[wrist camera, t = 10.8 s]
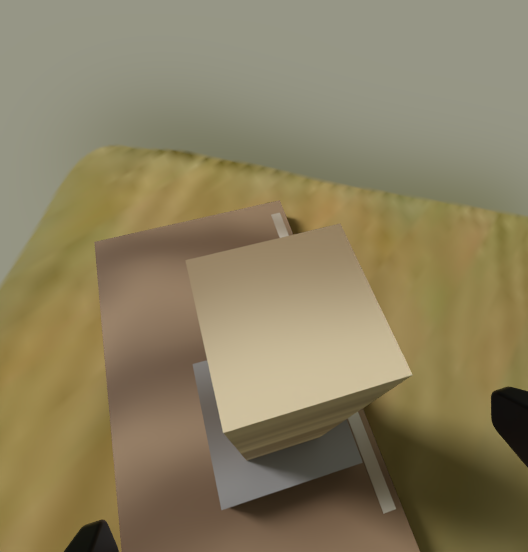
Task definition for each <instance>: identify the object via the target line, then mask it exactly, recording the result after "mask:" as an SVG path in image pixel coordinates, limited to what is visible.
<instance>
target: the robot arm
mask: <svg viewBox="0 0 528 552" xmlns="http://www.w3.org/2000/svg"><path fill="white" fill-rule="evenodd" d="M491 419H492V423H493V426H494V427H495V429H496V431H497V432H498V433H499V434H500V435H501V437H502V438H503V439H504V440H505V441H506V442H507V444H508V445H509V446H510V447H511V448H512V450H513V451H514V452H515V453H516V454H517V455H518V457H519V458H520V459H521V460H522V461H523V463H524V464H525V465H526V466H527V467H528V391H524V390H521V389H517V388H513V387H505V388H502V389H499V390H496V391H494V392H493V393H492V395H491ZM64 552H119V551H118V547H117V545H116V542H115V540H114V538H113V535H112V533H111V531H110V528H109V526H108V524H107V522H106V521H105V520H99V521H96V522H92V523H89V524H86V525H84V526H83V527H82V528H81V529H80V530H79V532H78V533H77V534H76V536H75V537H74V538H73V540H72V541H71V542H70V544H69V545H68V547H67V548H66V549H65V551H64Z"/></svg>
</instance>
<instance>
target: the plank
mask: <svg viewBox="0 0 528 552" xmlns="http://www.w3.org/2000/svg"><path fill="white" fill-rule="evenodd" d="M290 235H293V232H292V230H291V227H290V225H289V222H288V220H287V217H286V215H285V212H284V210H283V207H282V205H281V202H280V200H279V201H275V202H271V203H266V204H262V205H257V206H253V207H248V208H244V209H239V210H235V211H230V212H226V213H222V214H217V215H213V216H208V217H204V218H199V219H195V220H190V221H186V222H181V223H177V224H172V225H168V226H164V227H159V228H155V229H150V230H146V231H141V232H137V233H132V234H128V235H123V236H119V237H114V238H110V239H106V240H101V241H97V242H95V253H96V264H97V275H98V287H99V298H100V310H101V321H102V332H103V344H104V355H105V366H106V378H107V389H108V400H109V412H110V423H111V435H112V446H113V457H114V469H115V480H116V491H117V503H118V514H119V525H120V537H121V548H122V552H420V550H419V548H418V545H417V543H416V540H415V538H414V535H413V533H412V530H411V528H410V525H409V523H408V520H407V518H406V515H405V513H404V510H403V508H402V505H401V503H400V500H399V498H398V495H397V493H396V490H395V488H394V485H393V483H392V480H391V478H390V475H389V473H388V470H387V468H386V465H385V463H384V460H383V458H382V455H381V453H380V450H379V448H378V445H377V443H376V440H375V438H374V435H373V433H372V430H371V428H370V425H369V423H368V420H367V418H366V415H365V413H364V410H363V409H361V410H360V411H358V412H357V413H355V414H354V415H352V416H351V417H349V418H348V419H347V422H348V424H349V427H350V430H351V432H352V435H353V438H354V440H355V443H356V446H357V448H358V451H359V454H360V456H361V459H362V462H363V463H360V464H357V465H354V466H351V467H348V468H345V469H342V470H339V471H336V472H334V473H331V474H328V475H325V476H322V477H319V478H316V479H313V480H310V481H307V482H304V483H301V484H298V485H295V486H292V487H289V488H286V489H283V490H280V491H277V492H274V493H271V494H268V495H265V496H262V497H259V498H256V499H253V500H250V501H247V502H244V503H242V504H239V505H236V506H233V507H230V508H227V509H224V510H221V505H220V500H219V495H218V490H217V485H216V480H215V475H214V470H213V465H212V460H211V455H210V450H209V445H208V440H207V435H206V430H205V425H204V420H203V415H202V410H201V404H200V399H199V394H198V389H197V384H196V379H195V374H194V369H193V364H195V363H199V362H202V361H206V360H207V357H206V352H205V348H204V343H203V338H202V334H201V329H200V325H199V320H198V316H197V311H196V306H195V302H194V297H193V293H192V288H191V284H190V279H189V274H188V270H187V265H186V261H185V260H189V259H193V258H197V257H202V256H206V255H210V254H214V253H218V252H223V251H227V250H231V249H235V248H240V247H244V246H248V245H252V244H256V243H261V242H265V241H269V240H273V239H278V238H282V237H286V236H290Z"/></svg>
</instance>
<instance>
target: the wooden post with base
mask: <svg viewBox="0 0 528 552" xmlns="http://www.w3.org/2000/svg"><path fill="white" fill-rule="evenodd" d="M185 261H186V265H187V270H188V274H189V279H190V284H191V288H192V293H193V297H194V302H195V306H196V311H197V316H198V320H199V325H200V329H201V334H202V338H203V343H204V348H205V352H206V357H207V360H206V361H202V362H199V363H195V364H193V369H194V374H195V379H196V384H197V389H198V394H199V399H200V404H201V410H202V415H203V420H204V425H205V430H206V435H207V440H208V445H209V450H210V455H211V460H212V465H213V470H214V475H215V480H216V485H217V490H218V495H219V500H220V505H221V510H224V509H227V508H230V507H233V506H236V505H239V504H242V503H244V502H247V501H250V500H253V499H256V498H259V497H262V496H265V495H268V494H271V493H274V492H277V491H280V490H283V489H286V488H289V487H292V486H295V485H298V484H301V483H304V482H307V481H310V480H313V479H316V478H319V477H322V476H325V475H328V474H331V473H334V472H336V471H339V470H342V469H345V468H348V467H351V466H354V465H357V464H360V463H363V462H362V459H361V456H360V454H359V451H358V448H357V446H356V443H355V440H354V438H353V435H352V432H351V430H350V427H349V424H348V422H347V419H348V418H349V417H351V416H352V415H354V414H355V413H357V412H358V411H360V410H361V409H363V408H364V407H365V406H367V405H368V404H370V403H371V402H373V401H374V400H376V399H377V398H379V397H380V396H382V395H383V394H385V393H386V392H388V391H389V390H391V389H392V388H394V387H395V386H397V385H398V384H400V383H401V382H403V381H404V380H406V379H407V378H409V377H410V376H412V373H411V371H410V369H409V367H408V364H407V362H406V360H405V358H404V356H403V354H402V352H401V350H400V348H399V346H398V343H397V341H396V339H395V337H394V335H393V333H392V331H391V329H390V327H389V325H388V323H387V320H386V318H385V316H384V314H383V312H382V310H381V308H380V306H379V304H378V302H377V300H376V297H375V295H374V293H373V291H372V289H371V287H370V285H369V283H368V281H367V279H366V277H365V274H364V272H363V270H362V268H361V266H360V264H359V262H358V260H357V258H356V256H355V253H354V251H353V249H352V247H351V245H350V243H349V241H348V239H347V237H346V235H345V233H344V230H343V228H342V226H341V224H337V225H332V226H328V227H324V228H320V229H316V230H311V231H307V232H303V233H299V234H294V235H290V236H286V237H282V238H278V239H273V240H269V241H265V242H261V243H256V244H252V245H248V246H244V247H240V248H235V249H231V250H227V251H223V252H218V253H214V254H210V255H206V256H202V257H197V258H193V259H189V260H185Z"/></svg>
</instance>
